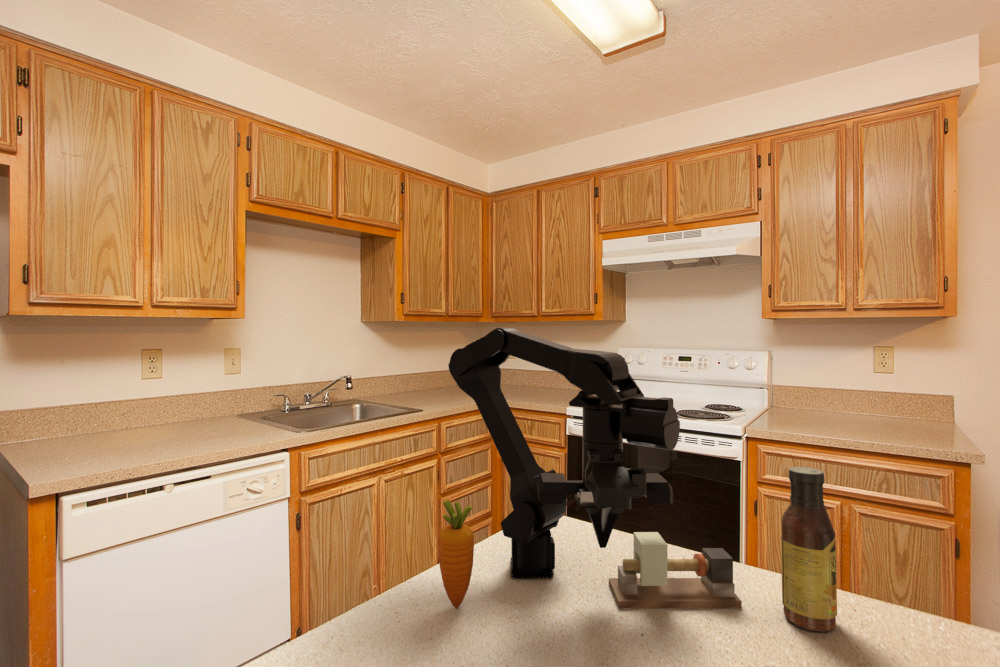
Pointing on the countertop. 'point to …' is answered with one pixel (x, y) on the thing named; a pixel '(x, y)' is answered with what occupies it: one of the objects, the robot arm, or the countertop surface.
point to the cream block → (651, 558)
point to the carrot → (456, 553)
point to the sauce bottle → (808, 554)
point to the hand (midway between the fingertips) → (602, 546)
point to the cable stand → (680, 584)
